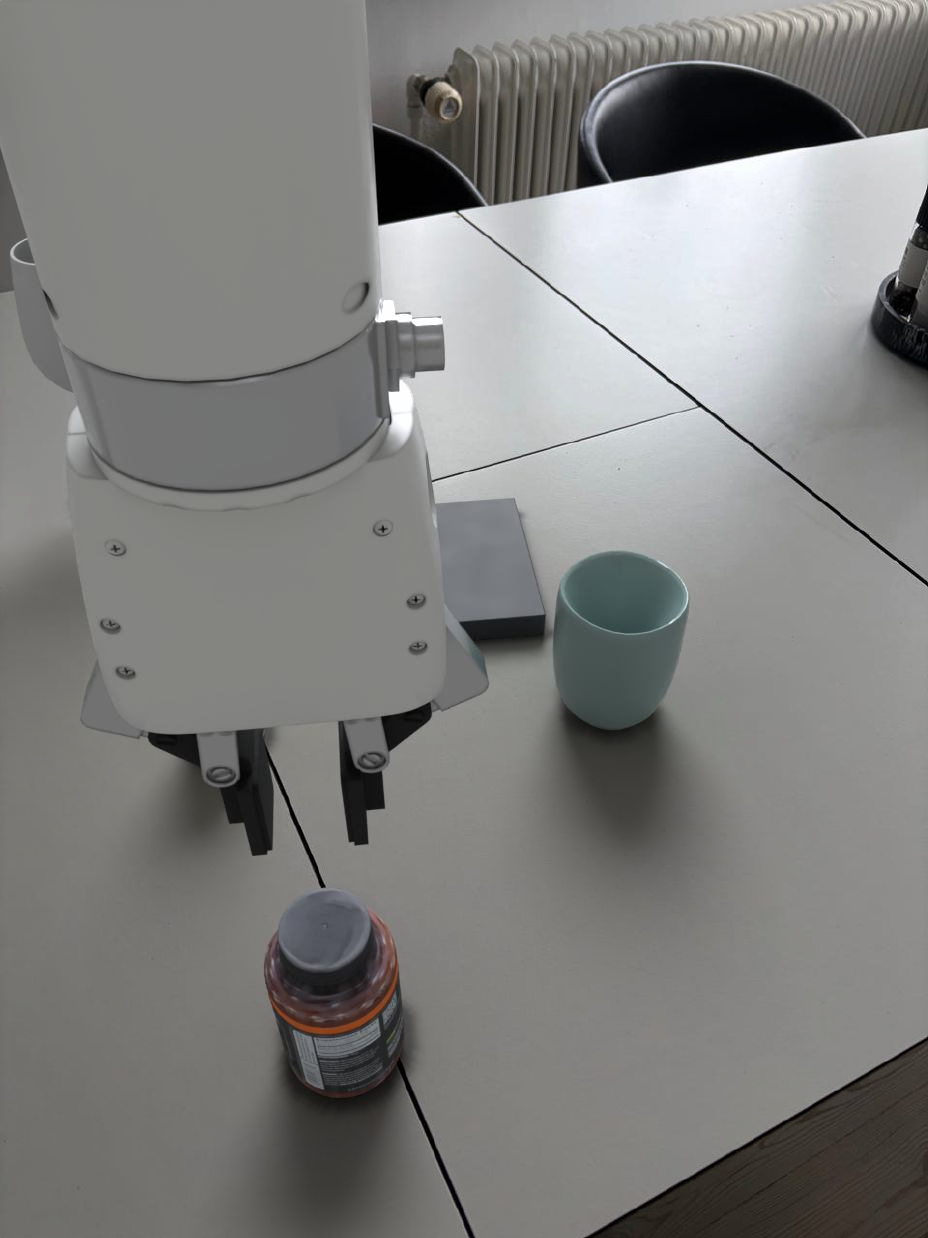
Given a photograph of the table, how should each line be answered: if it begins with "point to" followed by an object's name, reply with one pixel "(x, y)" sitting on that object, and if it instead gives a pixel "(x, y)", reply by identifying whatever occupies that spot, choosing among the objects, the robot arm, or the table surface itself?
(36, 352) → the wineglass
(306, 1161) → the table surface
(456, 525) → the scale
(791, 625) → the table surface
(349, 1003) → the supplement bottle
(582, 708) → the cup
